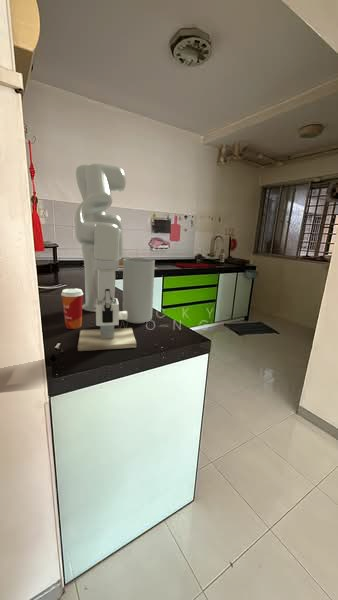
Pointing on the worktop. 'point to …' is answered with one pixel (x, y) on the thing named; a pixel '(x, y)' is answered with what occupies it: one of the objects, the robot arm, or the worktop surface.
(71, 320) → the paper cup
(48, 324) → the worktop surface
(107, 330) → the block
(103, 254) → the robot arm
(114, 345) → the board
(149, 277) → the cylinder vase
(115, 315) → the duct collar
